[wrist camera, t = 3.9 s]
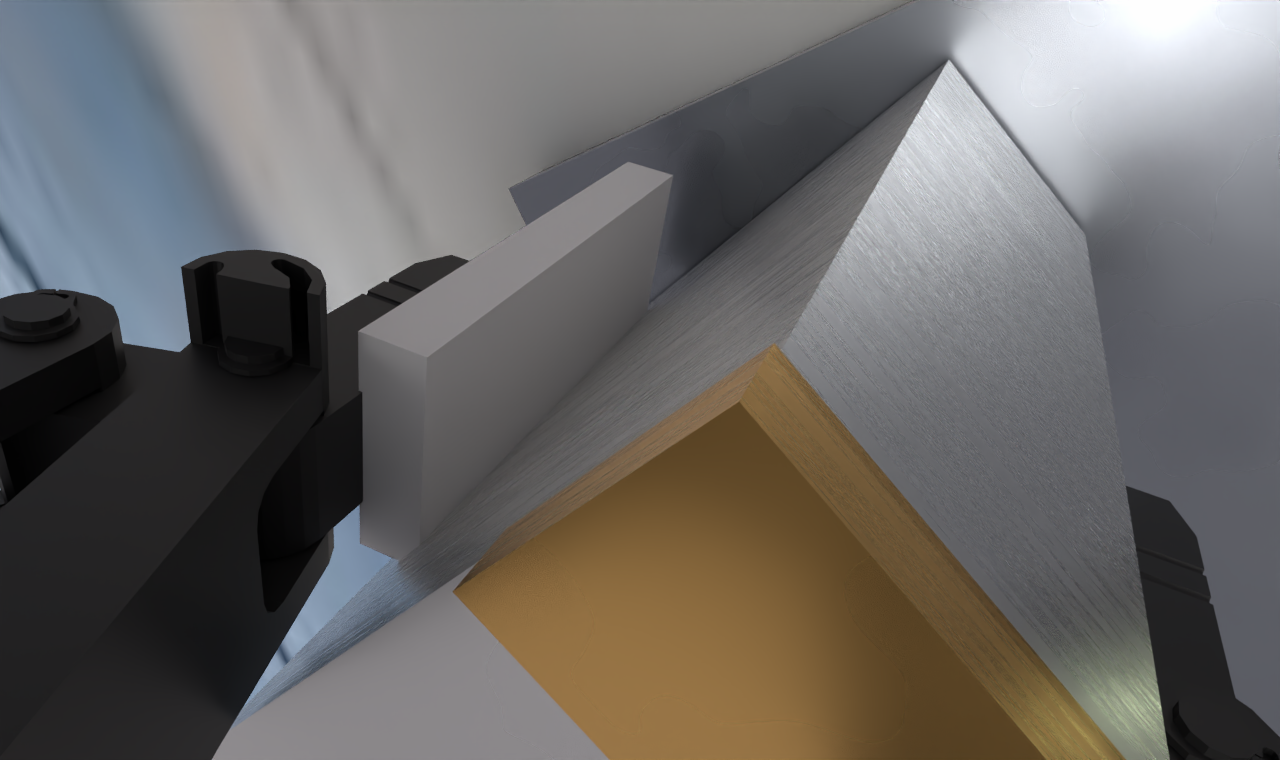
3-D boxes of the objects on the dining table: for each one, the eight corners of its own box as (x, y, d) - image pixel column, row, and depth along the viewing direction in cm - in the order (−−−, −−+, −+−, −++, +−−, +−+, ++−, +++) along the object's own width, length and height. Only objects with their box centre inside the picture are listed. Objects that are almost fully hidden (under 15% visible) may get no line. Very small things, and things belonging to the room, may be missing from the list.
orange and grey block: (622, 322, 16) (153, 789, 8) (946, 56, 12) (736, 401, 4) (736, 453, 16) (412, 1042, 8) (1087, 237, 13) (1204, 944, 4)
